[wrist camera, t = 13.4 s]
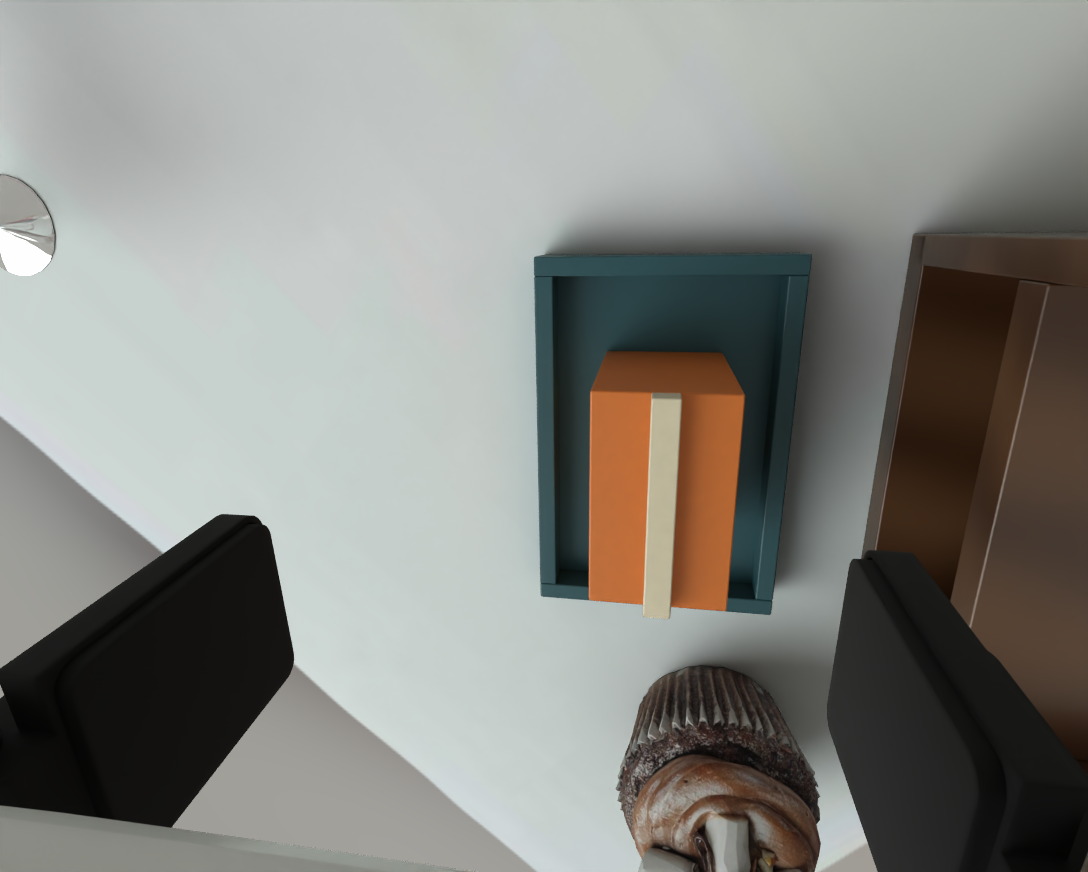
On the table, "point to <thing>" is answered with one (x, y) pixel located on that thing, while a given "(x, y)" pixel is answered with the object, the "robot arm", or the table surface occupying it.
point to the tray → (667, 326)
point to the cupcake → (717, 779)
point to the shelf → (997, 452)
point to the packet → (663, 479)
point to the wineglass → (23, 229)
